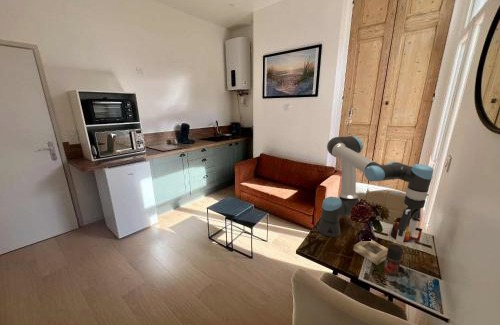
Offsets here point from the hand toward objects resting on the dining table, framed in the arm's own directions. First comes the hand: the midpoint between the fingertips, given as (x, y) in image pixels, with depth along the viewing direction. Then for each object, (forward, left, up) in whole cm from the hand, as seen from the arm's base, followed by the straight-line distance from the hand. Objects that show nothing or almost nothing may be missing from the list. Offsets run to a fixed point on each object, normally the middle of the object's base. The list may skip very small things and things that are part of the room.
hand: (405, 236), depth 101 cm
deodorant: (-1, -4, -22) cm, 22 cm away
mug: (-11, +34, -22) cm, 42 cm away
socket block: (-14, +2, -22) cm, 26 cm away
